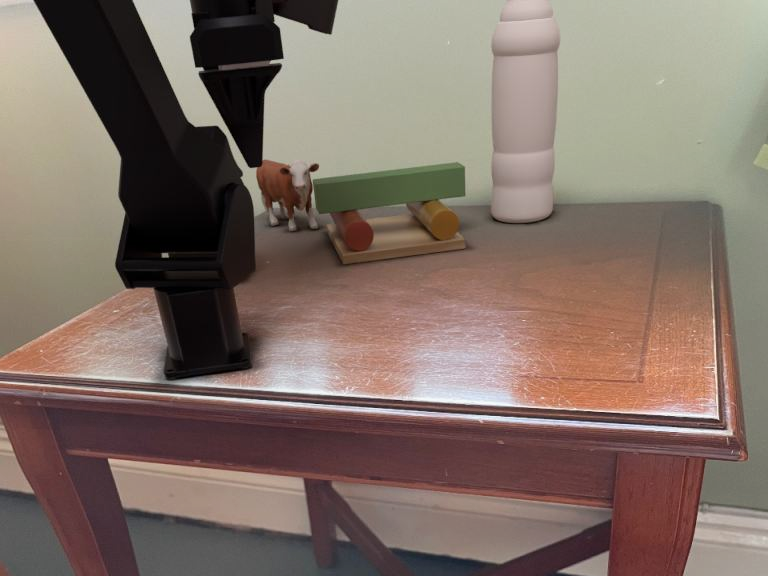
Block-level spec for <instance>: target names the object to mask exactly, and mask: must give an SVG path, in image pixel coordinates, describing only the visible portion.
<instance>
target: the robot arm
mask: <svg viewBox="0 0 768 576" xmlns="http://www.w3.org/2000/svg"><path fill="white" fill-rule="evenodd" d="M32 1H33V3H34V4H35V6H36V8H37V9H38V11H39V13H40V15H41V17H42V19H43V20H44V22H45V24H46V26H47V28H48V29H49V31H50V32H51V34H52V36H53V38H54V40H55V42H56V44H57V46H58V47H59V49H60V50H61V52H62V54H63V57H64V58H65V60H66V61H67V64H68V65H69V67H70V69H71V70H72V72H73V74H74V75H75V78H76V79H77V81H78V82H79V84H80V86H81V88H82V90H83V92H84V93H85V95H86V97H87V98H88V101H89V102H90V104H91V106H92V108H93V110H94V111H95V113H96V115H97V117H98V118H99V120H100V122H101V124H102V125H103V127H104V130H105V131H106V133H107V134H108V136H109V138H110V140H111V141H112V143H113V145H114V147H115V149H116V151H117V152H118V155H119V157H120V166H119V180H118V192H117V195H118V199H119V202H120V204H121V206H122V209H123V210H124V212H125V213H124V218H123V222H122V228H121V232H120V237H119V241H118V247H117V252H116V257H115V262H114V267H115V270H116V273H117V274H118V276H119V278H120V279H121V281H122V283H123V286H124V287H125V289H127V290H135V289H153V292H154V296H155V301H156V305H157V309H158V312H159V316H160V320H161V324H162V325H161V326H162V330H163V333H164V336H165V340H166V344H167V347H166V353H165V360H164V366H163V376H164V379H175V378H181V377H189V376H198V375H203V374H211V373H216V372H217V373H218V372H223V371H224V372H225V371H230V370H237V369H244V368H249V367H251V366H252V365H253V364H252V363H253V362H252V353H251V351H252V350H251V342H250V335H249V333H248V332H242V327H241V321H240V316H239V315H240V314H239V310H238V305H237V300H236V295H235V289H234V288H235V287H237V286H238V285H239V284H240V283H242V282H243V281H244V280H245V279H247V278H248V277H250V276H251V275H252V274H253V273H254V272H255V271H256V236H255V235H256V232H255V208H254V201H253V198H252V195H251V193H250V190H249V188H248V187H247V186H246V185H245V183H244V181H243V179H242V178H243V176H244V171H243V170H242V169H241V167H240V166H239V164H238V163H237V161H236V159H235V157H234V154H233V151H232V148H231V145H230V143H229V139H228V136H227V135H226V134H225V132H224V131H223V130H222V129H221V128H220V126H218V125H203V126H202V125H199V126H196V125H194V124H193V123H191V122H190V121H189V120H188V118H187V117H186V114H185V112H184V111H183V108H182V106H181V104H180V102H179V99H178V97H177V95H176V93H175V90H174V87H172V86H173V85H172V84H171V81H170V80H169V77H168V75H167V73H166V70H165V68H164V66H163V64H162V62H161V60H160V57H159V56H158V54H157V53H158V52H157V50H156V49H155V46H154V43H153V42H152V40H151V38H150V35H149V33H148V31H147V28H146V27H145V25H144V22H143V20H142V17H141V16H140V13H139V11H138V9H137V7H136V4H135V2H134V0H32ZM189 3H190V4H189V5H190V9H191V13H190V14H191V19H192V26H193V30H192V32H191V33H190V35H189V42H190V47H191V51H192V58H193V62H194V67H195V68H196V69H199V68H200V69H201V68H202V70H199V71H198V73H197V74H198V77H199V79H200V81H201V83H202V84H203V87H204V88H205V89H206V91H207V93H208V95H209V98H210V99H211V101H212V102H213V104H214V106H215V108H216V110H217V112H218V113H219V116H220V117H221V119H222V121H223V123H224V125H225V126H226V128H227V130H228V132H229V134H230V135H231V138H232V140H233V142H234V143H235V145H236V147H237V148H238V151H239V152H240V154H241V156H242V158H243V160H244V161H245V163H246V166H247V167H248V168H249V169H257V168H258V167H261V166H262V162H263V160H264V158H263V157H264V156H263V155H264V128H265V127H264V125H265V98H266V96H265V95H266V91H267V89H268V88H269V87H270V85H271V84H272V82H273V81H274V79H275V78H276V76H277V75H278V74H279V73H280V72H281V70H282V68H283V64H282V63H281V62H273V63H271V62H272V61H280V60H284V59H285V56H284V50H283V42H282V34H281V33H282V32H281V27H280V26H279V25H277V24H276V23H275V22H276V19H275V16H277V17H280V18H283V19H286V20H290V21H293V22H295V23H299V24H301V25H305V26H307V27H308V29H309V30H311V31H315V32H318V33H321V34H325V35H330V36H331V35H332V34H333V29H334V25H335V19H336V16H337V15H336V14H337V9H338V4H339V0H189ZM168 253H217V255H216V257H169V256H168V257H167V256H164V257H163V254H168Z"/></svg>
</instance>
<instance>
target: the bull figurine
mask: <svg viewBox="0 0 768 576" xmlns="http://www.w3.org/2000/svg"><path fill="white" fill-rule="evenodd" d="M319 168H320V165H319V163H317V162H315V163H311V164H310V165H307V163H306V161H304V160H303V159H299V158H298V159H295V160H294V161H292V162H290V163H282V162H277V161H274V160H270V159H263V162H262V166H261V167H257V168H256V171H255V175H256V176H255V177H256V181H257V185H258V188H259V190H260V198H261V199H260V200H261V203H262V206H263V207H264V209H265V212H266V213H268V215H269V221H268V222H269V223H270V226H272V227H275V226H279V224H280V223H279V220H278V218H277V216H276V215H275V212H274V206H273V205H274V204H273V203H277V204H278V206H279V214H280V216H281V219H282V220H288V224H287V226H288V230H289V232H296V231H298V229H297V225H296V221H295V208H296V210H298V211H300V212H301V211H303V210H304V209H305V213H306V215H307V218H308V225H309V227H310V230H317V229H319V228H320V227H319V224H318V223H317V221H316V219H315V217H314V208H313V203H312V194H313V192H314V188H313V180H312V178H311V173H315V172H317V171H318V170H319Z"/></svg>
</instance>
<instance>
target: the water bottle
mask: <svg viewBox="0 0 768 576" xmlns="http://www.w3.org/2000/svg"><path fill="white" fill-rule="evenodd" d="M560 31H561V30H560V28H559V25H558V22H557V19H556V18H555V17H554V11H553V7H552V5H551V3H550V1H549V0H506V1H505V3H504V5H503V7H502V8H501V11H500V14H499V21H498V22H497V24H496V26H495V29H494V31H493V34H492V36H491V37H492V38H491V46H490V47H491V52H492V55H493V60H492V73H491V136H492V148H493V150H492V154H491V167H490V168H491V179H492V187H491V197H490V198H491V199H490V200H491V201H490V209H491V210H490V213H491V215H492V217H493V218H494V219H495V220H497V221H499V222H503V223H508V224H509V223H510V224H525V223H534V222H539V221H542V220H545V219H546V218H548V217H549V216H550V215H551V214H552V213H553V209H554V185H553V180H554V174H555V165H556V162H555V161H556V157H555V156H556V155H555V148H554V143H555V139H556V138H555V136H556V130H557V129H556V128H557V117H558V116H557V115H558V113H557V111H558V97H559V96H558V95H559V93H558V91H559V57H558V56H559V55H558V50H559V48H560V45H561V32H560Z"/></svg>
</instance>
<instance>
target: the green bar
mask: <svg viewBox="0 0 768 576" xmlns="http://www.w3.org/2000/svg"><path fill="white" fill-rule="evenodd" d="M312 185H313V194H314V203H315V210H316V211H317V213H318V215H324V214H325V215H326V214H330V213H334V212H342V211H350V210H365V209H366V210H367V209H373V208H382V207H389V206H390V207H391V206H398V205H406V203H415V202H423V201H431V200H446V199H447V200H448V199H454V198H455V199H456V198H461V197H463V198H464V197H466V166H464V165H463V164H461V163H459V162H458V161H455V162H447V163H437V164H430V165H429V164H428V165H423V166H422V165H421V166H420V165H419V166H413V167H404V168H397V169H387V170H380V171H371V172H361V173H354V174H345V175H337V176H329V177H319V178H313V179H312Z"/></svg>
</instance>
